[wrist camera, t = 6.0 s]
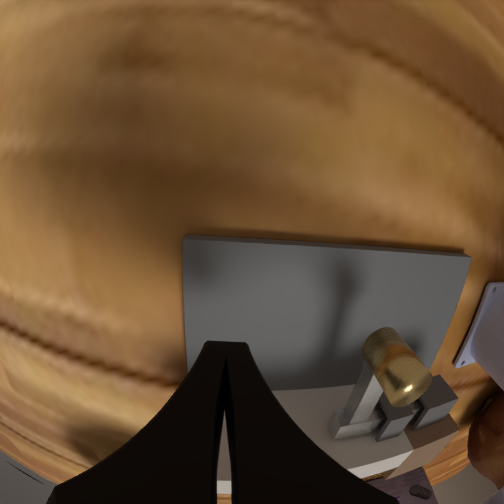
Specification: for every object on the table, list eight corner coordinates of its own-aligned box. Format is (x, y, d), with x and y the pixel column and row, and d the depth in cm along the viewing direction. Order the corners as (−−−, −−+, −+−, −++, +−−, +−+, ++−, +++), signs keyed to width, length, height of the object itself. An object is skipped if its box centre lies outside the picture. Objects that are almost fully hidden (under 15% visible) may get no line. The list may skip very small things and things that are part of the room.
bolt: (479, 314, 11) (512, 342, 8) (436, 398, 13) (457, 428, 10) (364, 326, 10) (400, 376, 7) (328, 423, 12) (343, 468, 9)
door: (464, 253, 14) (540, 298, 7) (404, 399, 18) (439, 458, 11) (185, 234, 12) (137, 312, 6) (194, 416, 16) (186, 500, 10)
